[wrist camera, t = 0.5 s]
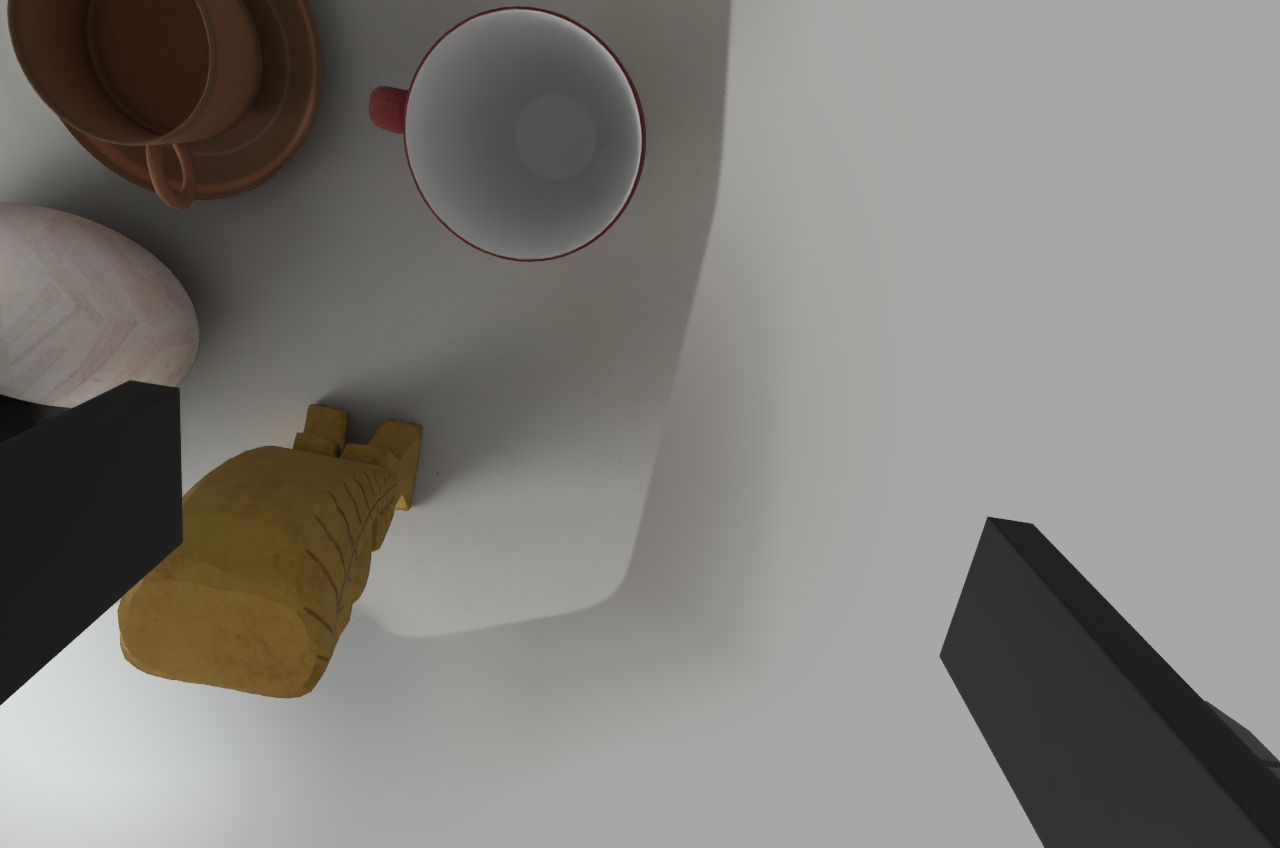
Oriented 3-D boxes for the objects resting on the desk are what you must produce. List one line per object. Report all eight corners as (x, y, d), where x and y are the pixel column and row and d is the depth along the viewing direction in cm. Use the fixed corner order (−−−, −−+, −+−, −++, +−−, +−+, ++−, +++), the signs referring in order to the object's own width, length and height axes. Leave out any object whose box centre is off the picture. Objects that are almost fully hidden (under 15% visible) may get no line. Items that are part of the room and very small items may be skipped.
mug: (412, 221, 38) (334, 251, 28) (406, 28, 35) (316, -9, 26) (641, 234, 38) (638, 270, 29) (652, 43, 35) (653, 12, 26)
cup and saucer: (385, 138, 37) (335, 140, 31) (153, 235, 38) (65, 254, 32) (249, -159, 33) (164, -220, 27) (-1, -38, 34) (-133, -72, 29)
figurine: (290, 493, 43) (113, 673, 28) (299, 374, 40) (112, 505, 26) (424, 518, 43) (316, 709, 29) (440, 402, 41) (331, 546, 27)
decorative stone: (233, 243, 38) (175, 259, 34) (213, 418, 41) (157, 455, 37) (-51, 164, 37) (-153, 169, 33) (-51, 348, 40) (-143, 378, 35)
